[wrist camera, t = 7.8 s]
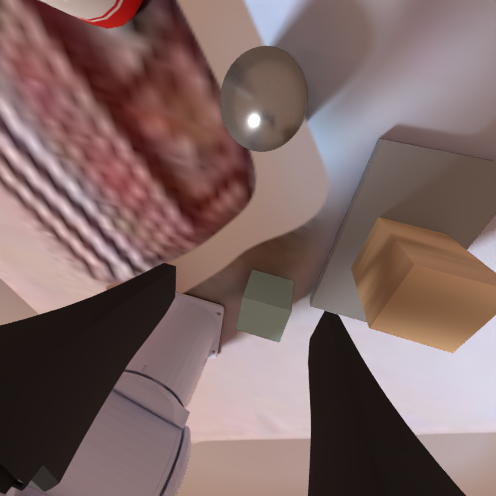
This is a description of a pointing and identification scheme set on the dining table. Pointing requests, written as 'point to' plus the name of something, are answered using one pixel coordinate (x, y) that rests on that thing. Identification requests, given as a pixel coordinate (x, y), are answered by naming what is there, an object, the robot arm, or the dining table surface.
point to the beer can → (99, 10)
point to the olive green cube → (265, 306)
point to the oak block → (423, 285)
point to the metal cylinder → (263, 98)
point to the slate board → (406, 210)
